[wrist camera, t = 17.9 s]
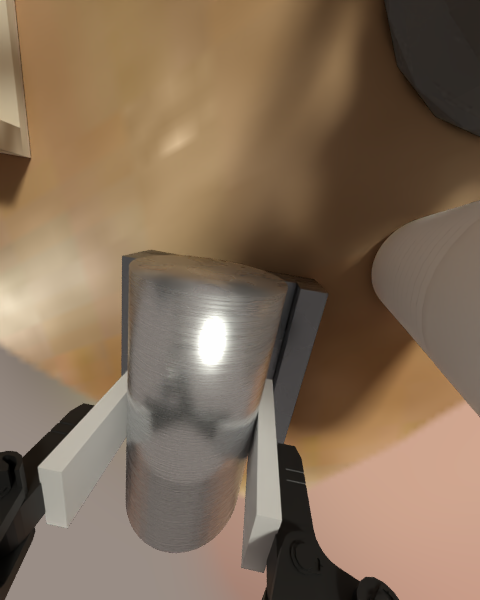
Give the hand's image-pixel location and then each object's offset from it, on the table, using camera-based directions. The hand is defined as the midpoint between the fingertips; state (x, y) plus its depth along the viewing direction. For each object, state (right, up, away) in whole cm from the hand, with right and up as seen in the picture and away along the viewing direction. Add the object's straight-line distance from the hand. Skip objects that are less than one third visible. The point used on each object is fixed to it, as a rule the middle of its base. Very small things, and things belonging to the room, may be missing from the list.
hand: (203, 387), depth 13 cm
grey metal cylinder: (0, +1, +1) cm, 2 cm away
